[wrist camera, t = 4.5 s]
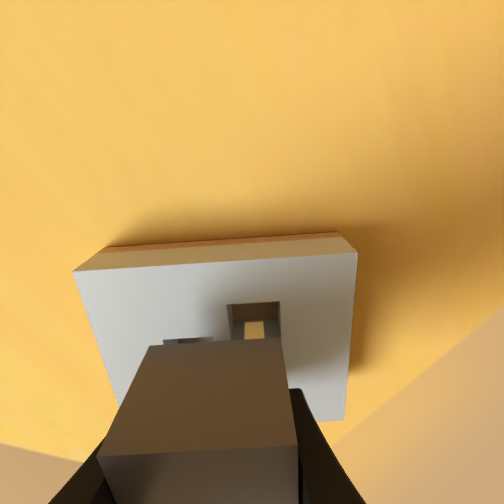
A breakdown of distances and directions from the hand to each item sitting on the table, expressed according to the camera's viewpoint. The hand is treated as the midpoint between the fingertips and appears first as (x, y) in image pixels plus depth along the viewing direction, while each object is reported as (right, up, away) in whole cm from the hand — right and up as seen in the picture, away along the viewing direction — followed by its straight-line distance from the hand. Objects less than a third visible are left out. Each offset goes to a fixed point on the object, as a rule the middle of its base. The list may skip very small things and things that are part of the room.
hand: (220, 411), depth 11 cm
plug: (0, +1, +2) cm, 3 cm away
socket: (0, +2, +5) cm, 6 cm away
